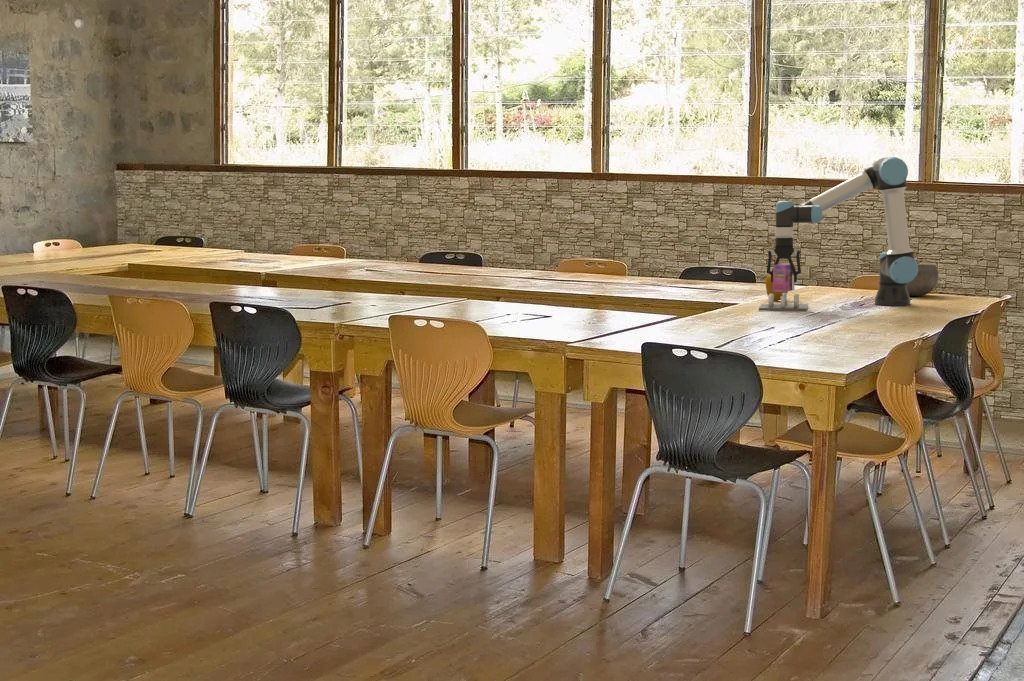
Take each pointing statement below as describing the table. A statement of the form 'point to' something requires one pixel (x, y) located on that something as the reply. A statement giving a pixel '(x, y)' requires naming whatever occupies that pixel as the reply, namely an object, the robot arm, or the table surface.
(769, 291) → the apple
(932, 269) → the bowl
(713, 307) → the table surface
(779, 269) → the box
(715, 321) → the table surface
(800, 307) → the pin tray
